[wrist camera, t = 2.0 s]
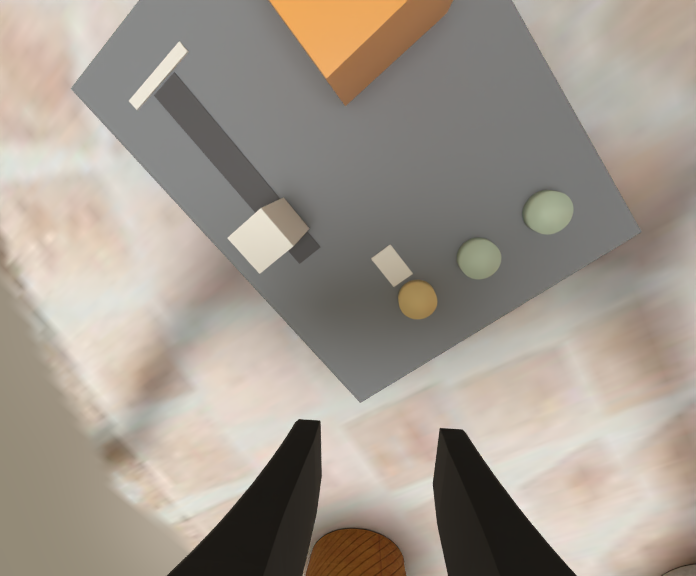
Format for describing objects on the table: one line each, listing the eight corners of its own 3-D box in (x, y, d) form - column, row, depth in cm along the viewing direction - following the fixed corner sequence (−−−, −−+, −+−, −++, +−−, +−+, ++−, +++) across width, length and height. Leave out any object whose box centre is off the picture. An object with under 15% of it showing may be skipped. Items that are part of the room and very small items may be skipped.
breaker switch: (309, 228, 15) (293, 246, 12) (281, 251, 15) (259, 273, 12) (283, 197, 14) (260, 207, 12) (255, 221, 15) (227, 238, 12)
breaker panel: (617, 224, 15) (652, 235, 13) (361, 384, 19) (359, 410, 17) (358, -226, 11) (353, -306, 9) (99, 94, 15) (57, 85, 13)
